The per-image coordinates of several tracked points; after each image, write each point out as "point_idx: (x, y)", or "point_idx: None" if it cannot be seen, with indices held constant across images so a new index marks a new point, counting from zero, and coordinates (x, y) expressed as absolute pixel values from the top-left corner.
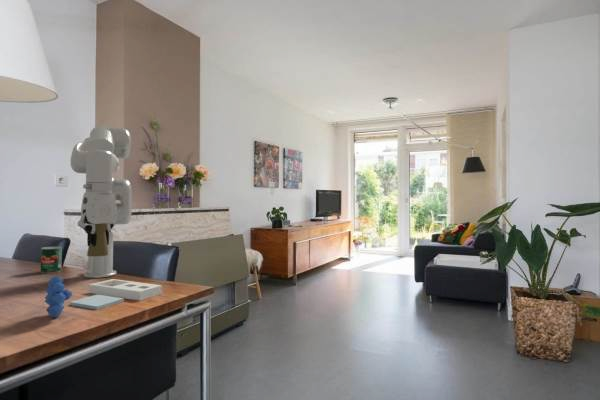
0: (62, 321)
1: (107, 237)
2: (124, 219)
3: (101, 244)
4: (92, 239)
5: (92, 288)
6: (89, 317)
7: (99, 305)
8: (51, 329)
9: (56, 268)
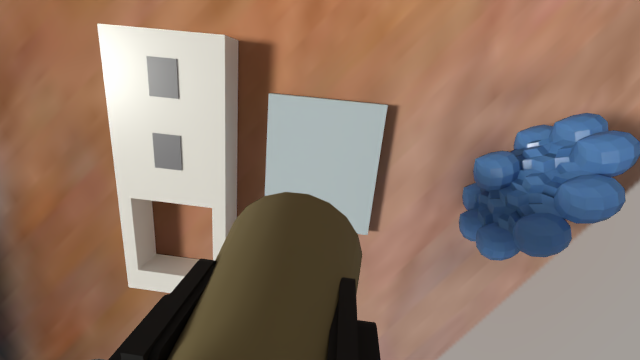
0: (522, 109)
1: (180, 306)
2: None
3: (302, 253)
4: (360, 348)
5: None
6: (467, 58)
7: (374, 107)
8: (603, 73)
9: None
